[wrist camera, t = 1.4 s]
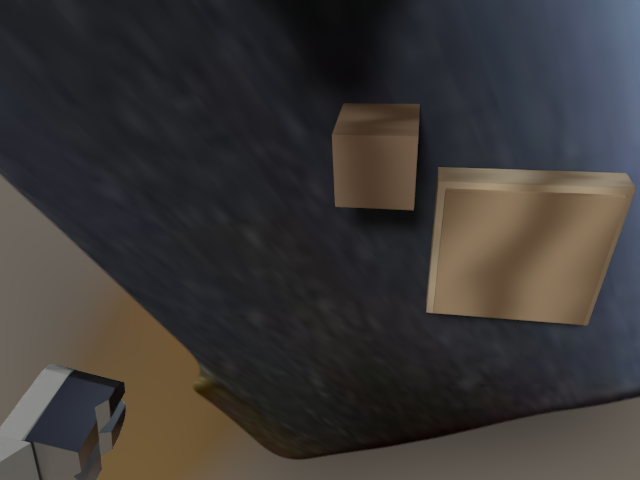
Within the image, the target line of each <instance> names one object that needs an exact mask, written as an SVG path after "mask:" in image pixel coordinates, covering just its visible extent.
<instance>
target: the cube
mask: <svg viewBox="0 0 640 480" xmlns="http://www.w3.org/2000/svg"><path fill="white" fill-rule="evenodd" d="M419 114H420V104H366V103H343V106H342V109H341V111H340V114H339V117H338V120H337V122H336V125H335V128H334V131H333V133H332V146H333V168H334V190H335V207H354V208H376V209H397V210H414V200H415V184H416V168H417V152H418V135H419Z"/></svg>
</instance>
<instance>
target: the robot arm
mask: <svg viewBox="0 0 640 480" xmlns="http://www.w3.org/2000/svg"><path fill="white" fill-rule="evenodd" d="M124 393H125V387H124V382H120V381H116V380H112V379H109V378H105V377H101V376H97V375H93V374H89V373H85V372H81V371H78V370H75V369H71V368H68V367H63V366H59V365H55V364H50V365H49V366H47V367H46V368H45V369H44V370H42V372H41V373H40V374H39V376H38V377H37V378H36V380H35V381H34V383H33V384H32V385H31V387H30V388H29V389H28V391H27V392H26V393H25V394H24V396H23V397H22V398H21V400H20V402H19V403H18V404H17V405H16V407H15V408H14V409H13V411H12V412H11V413H10V415H9V416H8V417H7V419H6V420H5V421H4V423H3V424H2V425H1V427H0V480H96V479H97V477H98V475H99V474H100V472H101V469H102V467H101V456H102V455H104V454H105V453H107V452H108V451H110V450H111V449H113V447H114V445H115V443H116V440H117V438H118V437H119V434H120V431H121V428H122V426H123V423H124V419H125V413H126V405H125V404H124V403H123V401H122V400H121V399H122V397H123V395H124Z"/></svg>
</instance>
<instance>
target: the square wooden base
mask: <svg viewBox="0 0 640 480" xmlns="http://www.w3.org/2000/svg"><path fill="white" fill-rule="evenodd" d="M635 190H636V188H635V186H634V185H633V183H632V181H631V180H630V178H629V177H628V175H627V173H609V172H577V171H545V170H514V169H482V168H450V167H438V174H437V186H436V197H435V208H434V219H433V230H432V241H431V252H430V264H429V275H428V286H427V308H426V312H427V313H439V314H452V315H464V316H477V317H489V318H502V319H514V320H527V321H539V322H552V323H564V324H577V325H588V322H589V319H590V316H591V314H592V311H593V308H594V305H595V302H596V300H597V297H598V294H599V291H600V288H601V286H602V283H603V280H604V277H605V274H606V272H607V269H608V266H609V263H610V260H611V258H612V255H613V252H614V249H615V246H616V243H617V241H618V238H619V235H620V232H621V229H622V227H623V224H624V221H625V218H626V215H627V213H628V210H629V207H630V204H631V201H632V199H633V196H634V193H635Z"/></svg>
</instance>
